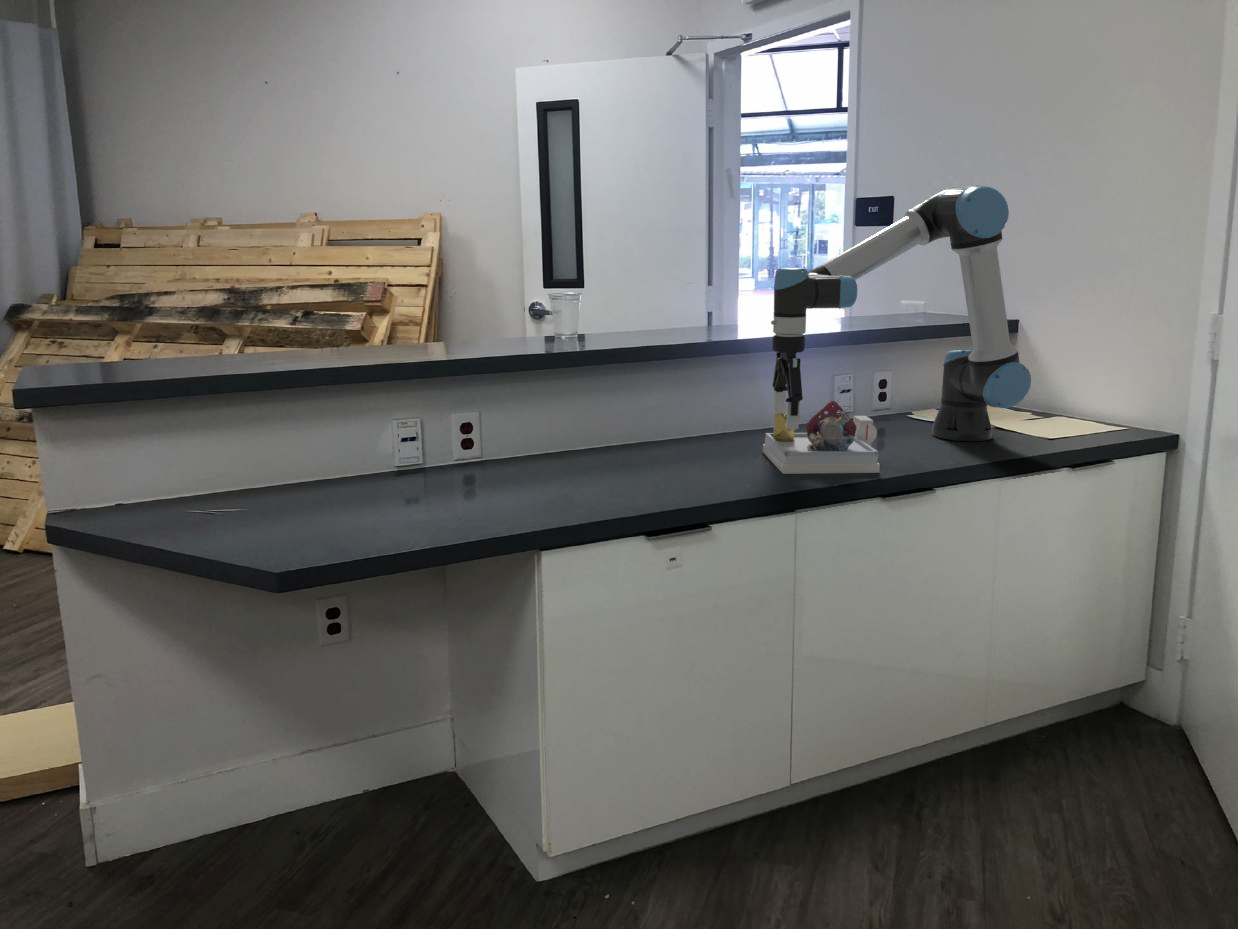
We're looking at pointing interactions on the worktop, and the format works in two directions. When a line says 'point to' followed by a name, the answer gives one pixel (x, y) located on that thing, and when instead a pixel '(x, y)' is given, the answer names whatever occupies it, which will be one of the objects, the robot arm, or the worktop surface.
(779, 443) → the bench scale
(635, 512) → the worktop surface
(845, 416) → the brake caliper
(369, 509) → the worktop surface
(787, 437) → the brass spacer
